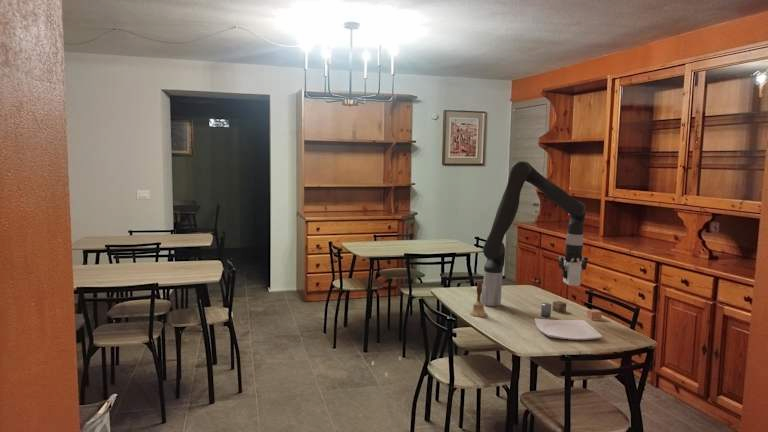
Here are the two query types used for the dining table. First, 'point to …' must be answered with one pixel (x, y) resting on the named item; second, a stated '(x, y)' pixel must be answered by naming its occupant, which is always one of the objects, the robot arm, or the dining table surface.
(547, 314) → the slate grey cylinder
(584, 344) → the dining table surface
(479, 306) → the hand bell
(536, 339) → the dining table surface
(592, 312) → the terracotta block
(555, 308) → the walnut block
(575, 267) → the small box
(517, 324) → the dining table surface
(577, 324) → the plate
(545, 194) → the robot arm
